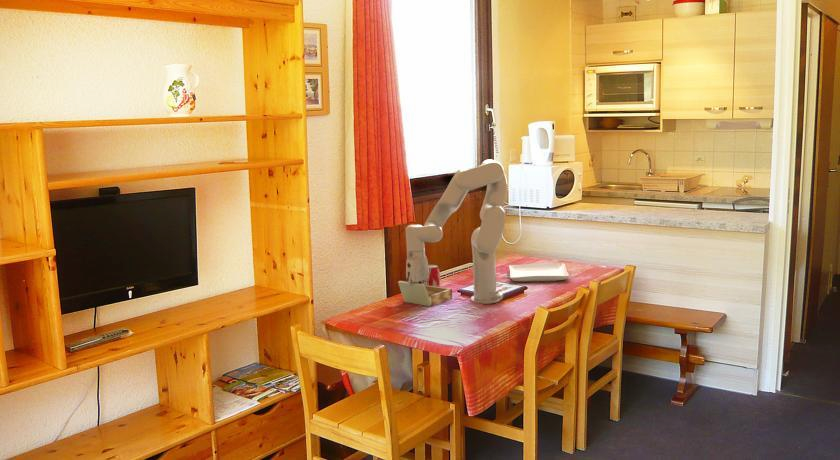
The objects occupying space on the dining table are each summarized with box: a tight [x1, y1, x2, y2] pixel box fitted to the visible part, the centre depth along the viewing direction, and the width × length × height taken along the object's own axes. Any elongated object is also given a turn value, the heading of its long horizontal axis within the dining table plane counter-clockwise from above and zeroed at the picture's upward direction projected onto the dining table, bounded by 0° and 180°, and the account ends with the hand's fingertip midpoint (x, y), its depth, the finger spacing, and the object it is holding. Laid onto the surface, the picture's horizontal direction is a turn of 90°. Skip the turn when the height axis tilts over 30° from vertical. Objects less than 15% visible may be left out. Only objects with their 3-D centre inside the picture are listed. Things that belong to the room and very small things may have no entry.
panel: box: [397, 280, 432, 307], centre depth 323 cm, size 1×14×11 cm, turn 50°
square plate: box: [508, 262, 570, 283], centre depth 368 cm, size 27×27×4 cm
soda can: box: [424, 264, 441, 287], centre depth 346 cm, size 7×7×12 cm
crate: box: [425, 285, 453, 307], centre depth 331 cm, size 13×15×5 cm
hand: (418, 296), depth 326 cm, fingers closed
